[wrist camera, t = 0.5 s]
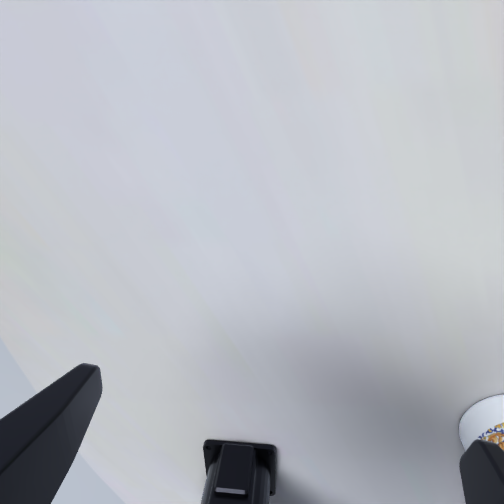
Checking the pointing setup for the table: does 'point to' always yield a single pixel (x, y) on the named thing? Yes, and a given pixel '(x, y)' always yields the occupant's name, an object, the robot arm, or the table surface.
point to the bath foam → (484, 422)
